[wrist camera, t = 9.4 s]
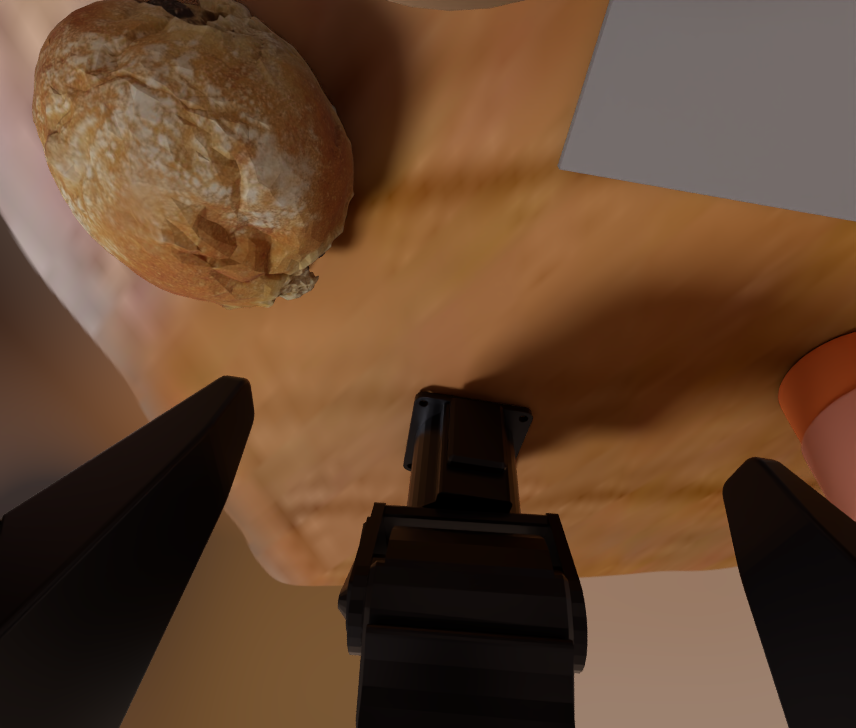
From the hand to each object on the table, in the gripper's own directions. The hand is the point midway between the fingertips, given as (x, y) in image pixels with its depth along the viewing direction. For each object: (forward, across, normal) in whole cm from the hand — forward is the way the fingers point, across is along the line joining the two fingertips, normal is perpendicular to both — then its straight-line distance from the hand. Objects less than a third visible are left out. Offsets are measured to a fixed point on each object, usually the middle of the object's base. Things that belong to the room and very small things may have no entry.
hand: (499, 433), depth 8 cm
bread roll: (+13, +10, 0) cm, 16 cm away
